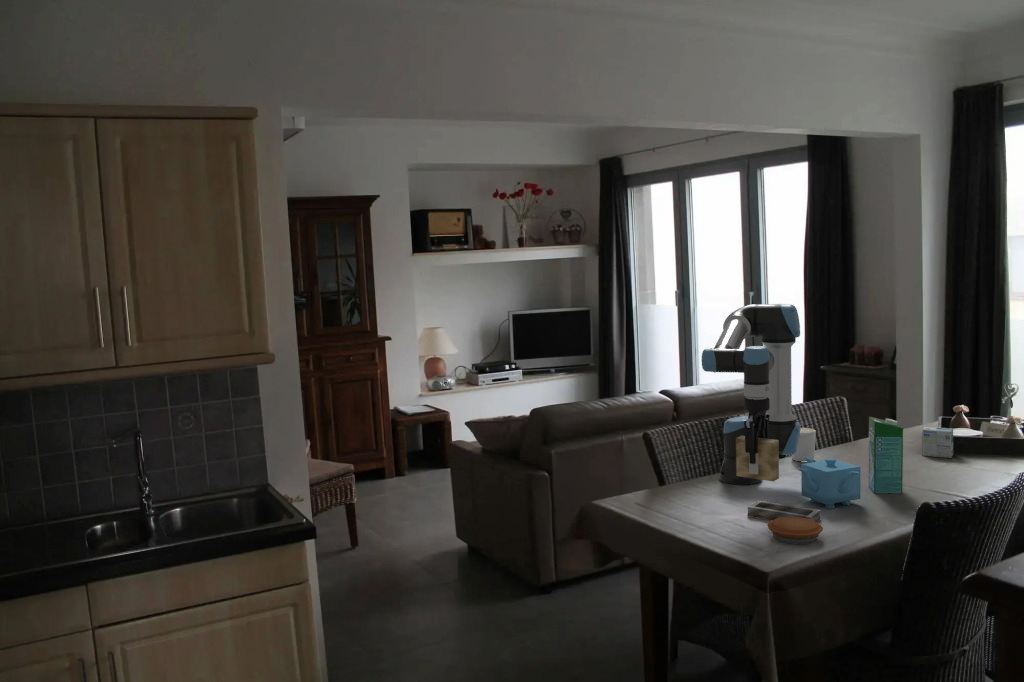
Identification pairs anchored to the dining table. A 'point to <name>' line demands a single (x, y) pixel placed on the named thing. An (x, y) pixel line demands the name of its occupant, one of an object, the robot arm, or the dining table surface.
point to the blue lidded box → (830, 481)
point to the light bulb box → (937, 442)
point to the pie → (795, 530)
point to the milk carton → (885, 456)
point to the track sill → (781, 511)
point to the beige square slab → (759, 459)
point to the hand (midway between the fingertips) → (757, 471)
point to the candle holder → (805, 445)
